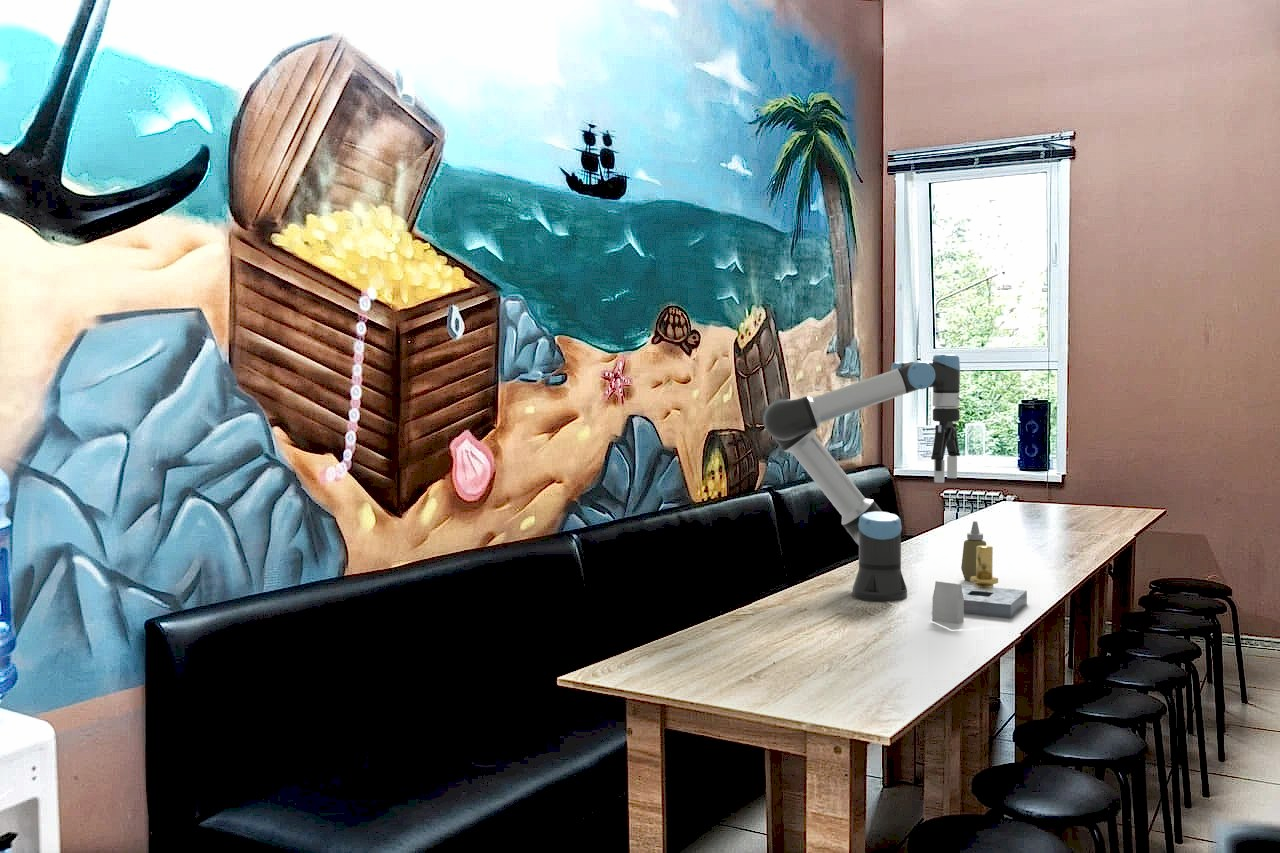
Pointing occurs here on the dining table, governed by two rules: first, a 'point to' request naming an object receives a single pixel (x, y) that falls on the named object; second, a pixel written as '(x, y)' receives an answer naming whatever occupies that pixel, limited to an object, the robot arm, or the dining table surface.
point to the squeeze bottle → (971, 551)
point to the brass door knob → (984, 567)
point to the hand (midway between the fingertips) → (945, 480)
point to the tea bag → (948, 602)
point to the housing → (993, 601)
